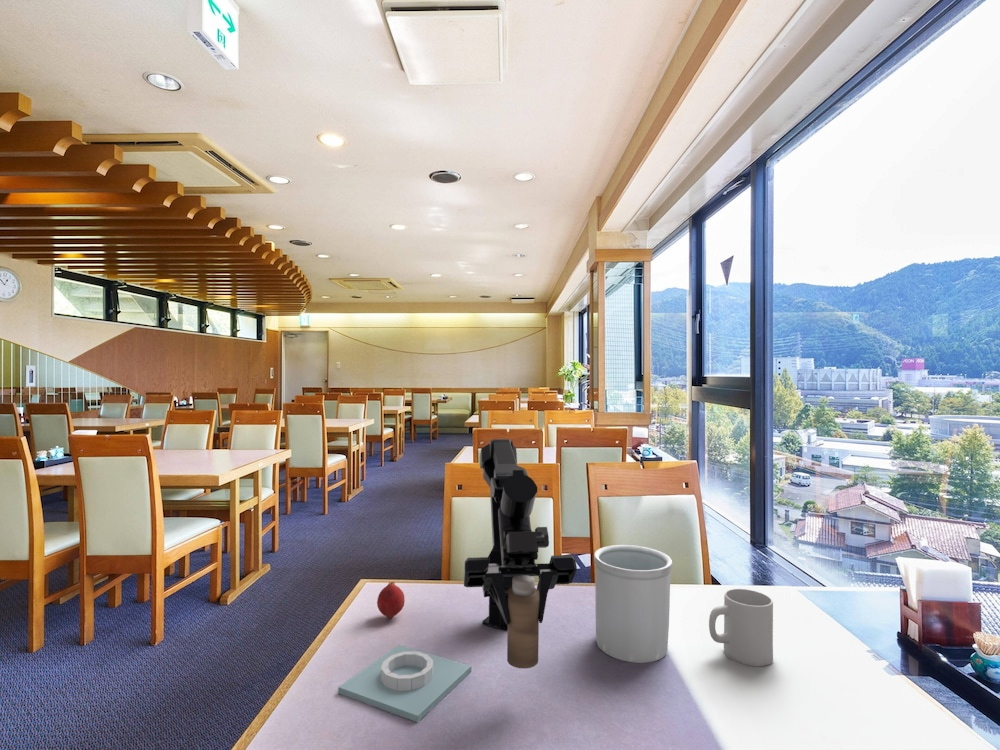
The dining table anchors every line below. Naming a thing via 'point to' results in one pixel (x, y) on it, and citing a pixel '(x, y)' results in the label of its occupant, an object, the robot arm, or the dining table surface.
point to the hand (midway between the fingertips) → (524, 622)
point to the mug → (745, 627)
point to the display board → (405, 698)
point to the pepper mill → (523, 622)
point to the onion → (390, 600)
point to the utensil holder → (632, 602)
